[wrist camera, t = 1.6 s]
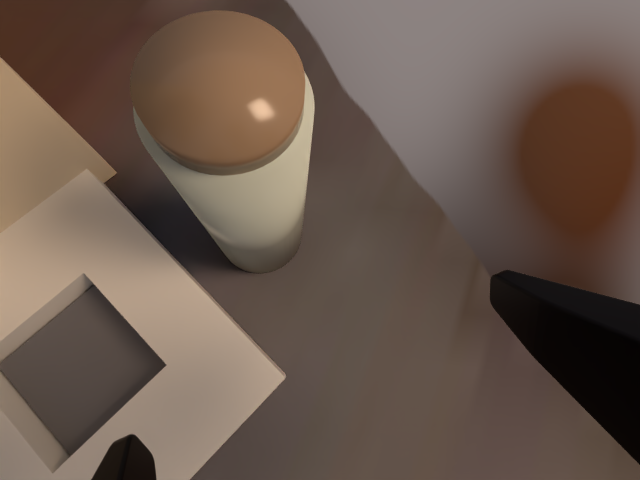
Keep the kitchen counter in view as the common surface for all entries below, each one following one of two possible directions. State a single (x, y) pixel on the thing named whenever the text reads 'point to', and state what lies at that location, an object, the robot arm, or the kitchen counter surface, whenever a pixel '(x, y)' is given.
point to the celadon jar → (230, 130)
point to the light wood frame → (102, 318)
